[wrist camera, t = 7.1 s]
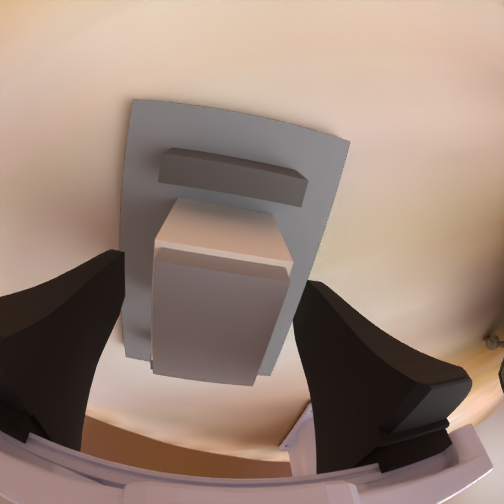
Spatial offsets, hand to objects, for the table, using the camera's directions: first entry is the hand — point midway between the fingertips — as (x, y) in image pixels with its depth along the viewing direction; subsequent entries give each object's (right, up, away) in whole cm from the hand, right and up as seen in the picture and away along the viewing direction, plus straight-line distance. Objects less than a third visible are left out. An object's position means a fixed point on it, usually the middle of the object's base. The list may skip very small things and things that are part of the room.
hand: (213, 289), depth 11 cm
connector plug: (0, +1, +2) cm, 2 cm away
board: (0, +1, +3) cm, 3 cm away
